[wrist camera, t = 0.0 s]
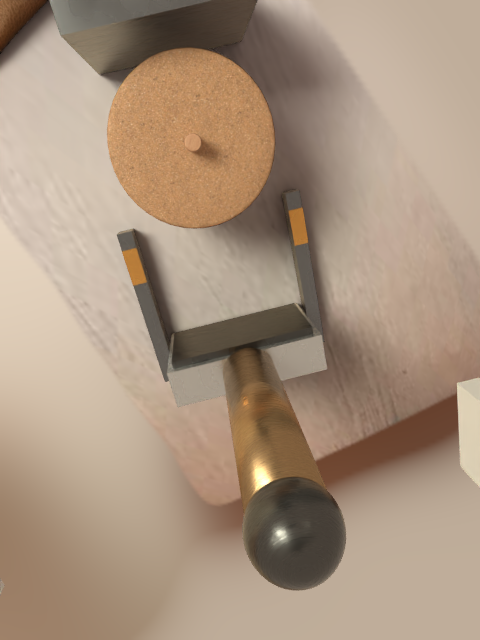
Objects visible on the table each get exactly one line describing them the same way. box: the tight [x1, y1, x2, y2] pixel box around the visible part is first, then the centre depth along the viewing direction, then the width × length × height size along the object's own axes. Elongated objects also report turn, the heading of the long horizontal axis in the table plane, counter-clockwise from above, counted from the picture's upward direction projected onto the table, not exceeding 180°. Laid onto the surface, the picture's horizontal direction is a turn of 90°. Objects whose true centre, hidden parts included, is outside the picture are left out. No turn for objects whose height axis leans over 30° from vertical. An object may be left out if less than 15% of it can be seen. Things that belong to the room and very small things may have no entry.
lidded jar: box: [107, 47, 275, 228], centre depth 30 cm, size 11×11×9 cm
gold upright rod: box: [167, 303, 346, 590], centre depth 28 cm, size 4×12×25 cm, turn 103°
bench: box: [49, 0, 324, 382], centre depth 31 cm, size 29×15×10 cm, turn 13°
